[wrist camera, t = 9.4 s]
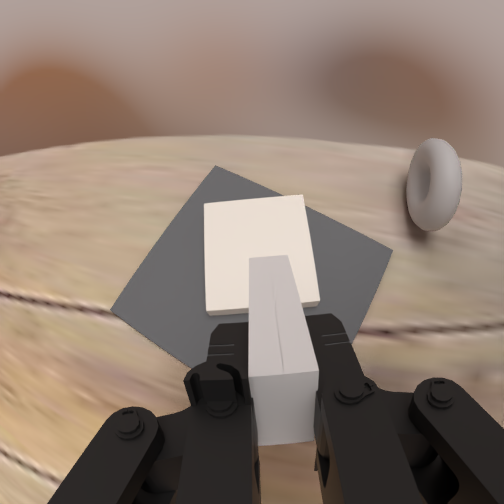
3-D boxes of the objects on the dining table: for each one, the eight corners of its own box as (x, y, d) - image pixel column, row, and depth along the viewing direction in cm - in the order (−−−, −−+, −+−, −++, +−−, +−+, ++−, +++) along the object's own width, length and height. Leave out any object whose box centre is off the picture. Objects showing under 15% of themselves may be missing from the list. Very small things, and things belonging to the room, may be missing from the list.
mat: (391, 252, 32) (392, 250, 31) (302, 430, 26) (302, 431, 25) (216, 168, 37) (215, 165, 37) (112, 311, 31) (110, 309, 30)
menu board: (320, 300, 28) (302, 194, 32) (206, 310, 28) (203, 203, 32) (317, 306, 30) (301, 205, 34) (210, 315, 30) (207, 213, 34)
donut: (432, 249, 32) (477, 202, 23) (406, 245, 32) (446, 195, 23) (422, 177, 36) (453, 123, 27) (398, 172, 36) (425, 115, 27)
